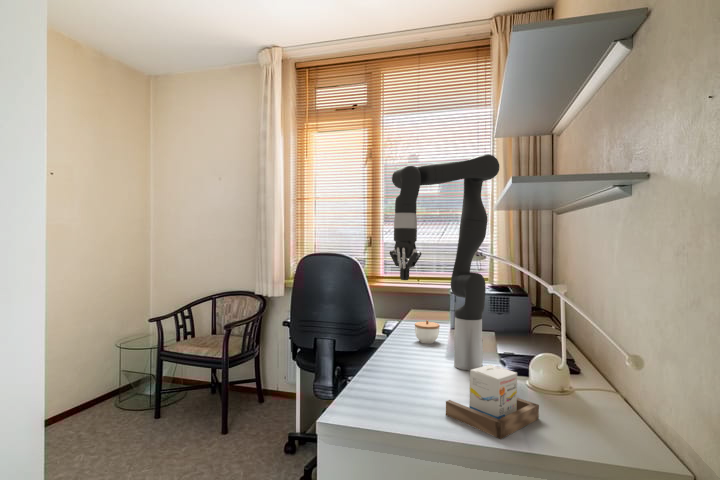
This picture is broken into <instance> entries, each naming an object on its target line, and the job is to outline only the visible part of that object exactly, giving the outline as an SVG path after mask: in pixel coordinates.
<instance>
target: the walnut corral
mask: <svg viewBox="0 0 720 480" xmlns="http://www.w3.org/2000/svg"><path fill="white" fill-rule="evenodd" d="M445 416H447V417H449V418H452V419H454V420H456V421H458V422H461V423H463V424H465V425H467V426H470V427H472V428H474V429H476V430H479V431H480V432H483V433H485V434H488V435H491V436H492V437H495V438H497V439H500V440H502V439H505V438H506V437H508V436H510V435H512V434H513V433H516V432H517V431H519V430H521V429H523V428H524V427H527V426H528V425H530V424H532V423H534V422H536V421H537V420H539V417H540V405H539V404H538V403H535V402H531V401H528V400H525V399H523V398H519V397H517V411H515V412H513V413H511V414H509V415H507V416H505V417H503V418H501V419H497V418H494V417H492V416H489V415H487V414H484V413H482V412H479V411H477V410H474V409H471V408H469V406H466V405H463V404H461V403H460V402H459V403H458V402H456V401H454V400H451V399H448V400H446V401H445Z"/></svg>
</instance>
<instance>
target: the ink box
mask: <svg viewBox="0 0 720 480" xmlns="http://www.w3.org/2000/svg"><path fill="white" fill-rule="evenodd" d="M469 371H470V370H469ZM469 373H470V374H469V376H470V377H469V400H468V401H469V403H468V404H469V405H468V407H469V408H471V409H474V410H477V411H479V412H482V413H484V414H487V415H489V416H492V417H494V418H497V419H501V418H503V417H505V416H507V415H509V414H511V413H513V412H515V411H517V398H518V395H517V393H518V372H517V371H512V370H510V369H507V368H503V367H500V366H496V365H492V364H488V365H484V366H483V365H482V367H479V368H475V369H471V371H470V372H469Z"/></svg>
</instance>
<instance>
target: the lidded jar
mask: <svg viewBox="0 0 720 480" xmlns="http://www.w3.org/2000/svg"><path fill="white" fill-rule="evenodd" d="M414 333H415V337H416V339H417V340H418V341H419V342H420V343H422V344H434V343H435V341H436V340H437V339H438V338H439V335H440V324H439V323H437V322H433V321H429V320H428V319H426V320H425V321H416V322H414Z"/></svg>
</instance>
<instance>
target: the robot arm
mask: <svg viewBox="0 0 720 480" xmlns="http://www.w3.org/2000/svg"><path fill="white" fill-rule="evenodd" d="M499 171H500V162H499V160H498V158H497V157H496V156H494V155H492V154H489V153H486V154H480V155H478V156H473V157H472V158H470V159H465V160H460V161H459V160H458V161H448V162H447V161H446V162H436V163H428V164H424V165H420V166H415V165H413V164H412V165H411V164H409V165H406V166H402V167H400V168H397V169H396V170H394V172H393V173H392V176H391V180H392V184H393V186H395V188H397V189H400V192H399V194H398V196H396V198H395V203H394V219H393V241H394V242H395V243H394V249H393V250H390V251H389V253H388V254H389V255H390V257H391V259H392V261H393V263H394V265H395V267H398V268H399V279H400V280H401V281H409V279H410V269H412V268H414V267H415V266H416V264H417V263H418V261H419V260H420V258H421V256H422V252H421V251H418V250H417V246H416V242H417V239H418V217H417V200H418V197H419V192H420V188H421V186H432V185H441V184H446V183H450V182H455V181H459V180H463V196H462V197H463V198H462V208H461V216H460V222H459V223H460V224H459V231H458V232H459V233H458V241H457V248H456V255H455V260H454V264H453V268H452V274H451V279H450V289H451V292H452V294H453V295H454V296H456V297H457V298H463V299H464V303H463V304H464V305H462V306H461V307H456V308H455V309H454V347H453V348H454V349H453V350H454V352H453V353H454V354H453V357H454V358H453V366H454V367H455V368H457V369H459V370H461V371H462V370H463V371H471V369H475V368H479V367H483V354H484V353H483V352H484V351H483V349H484V340H483V339H482V338H483V337H482V336H483V314H484V311H485V307H486V306H485V305H486V304H485V301H486V289H487V288H486V286H487V285H486V280H485V278H484V276H483V274H481V273H478V272H472V271H471V266H472V261H473V259H474V256H475V254H476V253H477V252H478V250H479V248H480V247H481V246H482V244H483V242H484V240H485V238H486V235H487V229H488V214H487V211H486V209H485V208H486V207H485V205H484V203H483V200H482V190H483V183H484V182H487V181H489V180H492V179H494V178H496V176H497V175H498V173H499Z"/></svg>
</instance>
